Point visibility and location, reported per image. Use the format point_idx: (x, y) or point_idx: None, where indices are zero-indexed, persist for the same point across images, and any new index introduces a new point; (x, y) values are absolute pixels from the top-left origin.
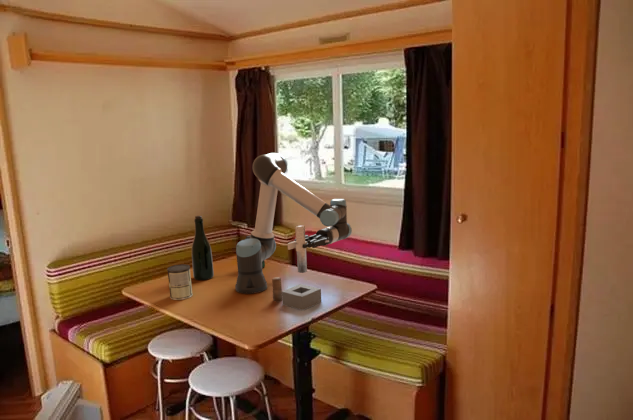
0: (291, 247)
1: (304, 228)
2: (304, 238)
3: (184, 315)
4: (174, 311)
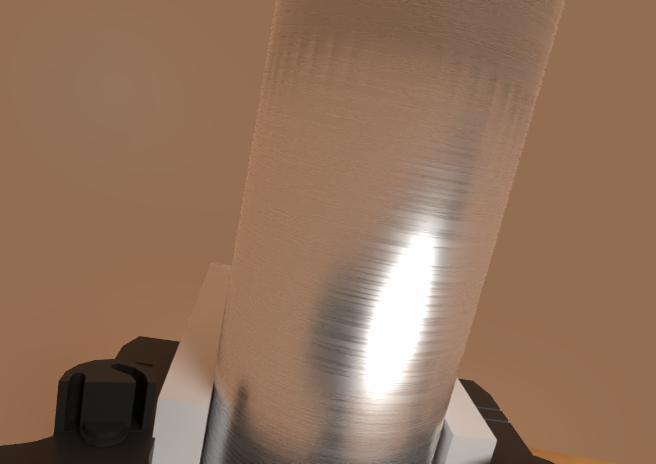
0: None
1: (285, 5)
2: (228, 292)
3: (531, 450)
4: (595, 461)
